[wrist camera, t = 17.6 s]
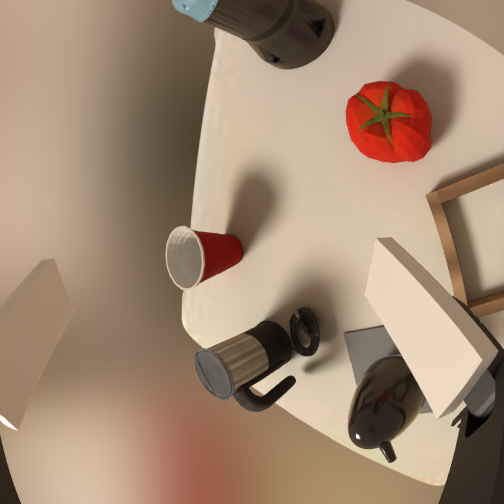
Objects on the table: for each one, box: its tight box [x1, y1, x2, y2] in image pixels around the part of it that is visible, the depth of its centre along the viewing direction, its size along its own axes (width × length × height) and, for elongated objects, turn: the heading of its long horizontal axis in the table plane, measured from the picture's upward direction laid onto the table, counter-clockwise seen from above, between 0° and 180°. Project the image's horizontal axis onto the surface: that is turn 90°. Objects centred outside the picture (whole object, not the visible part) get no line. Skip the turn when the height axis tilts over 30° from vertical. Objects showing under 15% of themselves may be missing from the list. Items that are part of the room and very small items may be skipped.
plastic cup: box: [166, 226, 243, 290], centre depth 50 cm, size 11×11×12 cm
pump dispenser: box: [348, 354, 426, 463], centre depth 28 cm, size 10×10×15 cm
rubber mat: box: [344, 326, 433, 414], centre depth 34 cm, size 16×16×1 cm
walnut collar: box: [426, 163, 504, 318], centre depth 22 cm, size 16×16×2 cm
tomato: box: [346, 81, 432, 163], centre depth 27 cm, size 11×11×9 cm
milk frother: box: [195, 308, 320, 412], centre depth 43 cm, size 14×16×15 cm
